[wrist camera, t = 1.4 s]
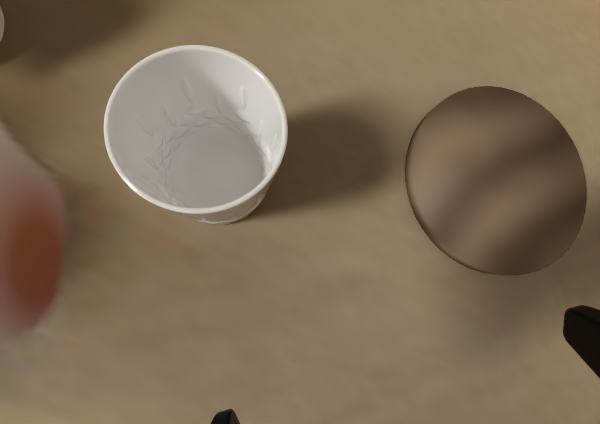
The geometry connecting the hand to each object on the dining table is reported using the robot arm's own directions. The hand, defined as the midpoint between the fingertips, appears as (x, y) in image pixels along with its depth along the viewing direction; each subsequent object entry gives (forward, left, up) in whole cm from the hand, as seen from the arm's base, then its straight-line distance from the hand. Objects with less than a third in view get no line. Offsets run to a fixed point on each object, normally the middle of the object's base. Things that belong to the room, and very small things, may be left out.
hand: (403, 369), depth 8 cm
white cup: (+11, -1, -16) cm, 19 cm away
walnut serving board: (-3, -19, -16) cm, 24 cm away
